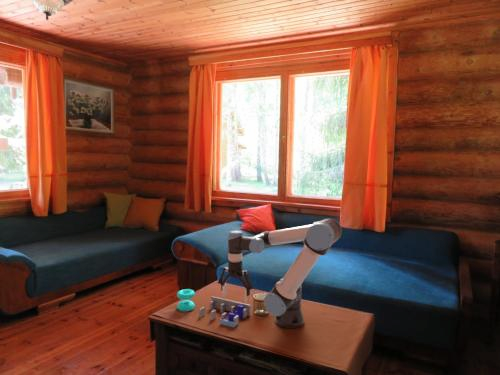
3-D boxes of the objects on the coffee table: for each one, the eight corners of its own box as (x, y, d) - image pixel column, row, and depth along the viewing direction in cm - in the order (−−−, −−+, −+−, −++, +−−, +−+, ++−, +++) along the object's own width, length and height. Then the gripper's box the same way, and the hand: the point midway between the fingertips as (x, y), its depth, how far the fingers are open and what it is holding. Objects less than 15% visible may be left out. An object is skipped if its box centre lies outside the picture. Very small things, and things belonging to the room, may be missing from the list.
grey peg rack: (250, 315, 202) (250, 304, 201) (236, 328, 187) (236, 316, 186) (212, 306, 213) (212, 296, 212) (196, 317, 198) (196, 306, 197)
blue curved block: (236, 314, 202) (236, 304, 202) (243, 316, 200) (243, 306, 200) (225, 323, 192) (225, 313, 191) (233, 325, 190) (233, 314, 189)
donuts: (185, 296, 201) (173, 292, 207) (185, 314, 202) (173, 309, 208) (198, 291, 209) (186, 286, 215) (198, 307, 210) (186, 303, 216)
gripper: (259, 261, 191) (259, 300, 193) (218, 255, 202) (219, 292, 204) (253, 265, 184) (253, 305, 186) (211, 258, 195) (211, 297, 197)
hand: (235, 298), depth 195 cm, fingers open, 13 cm apart
